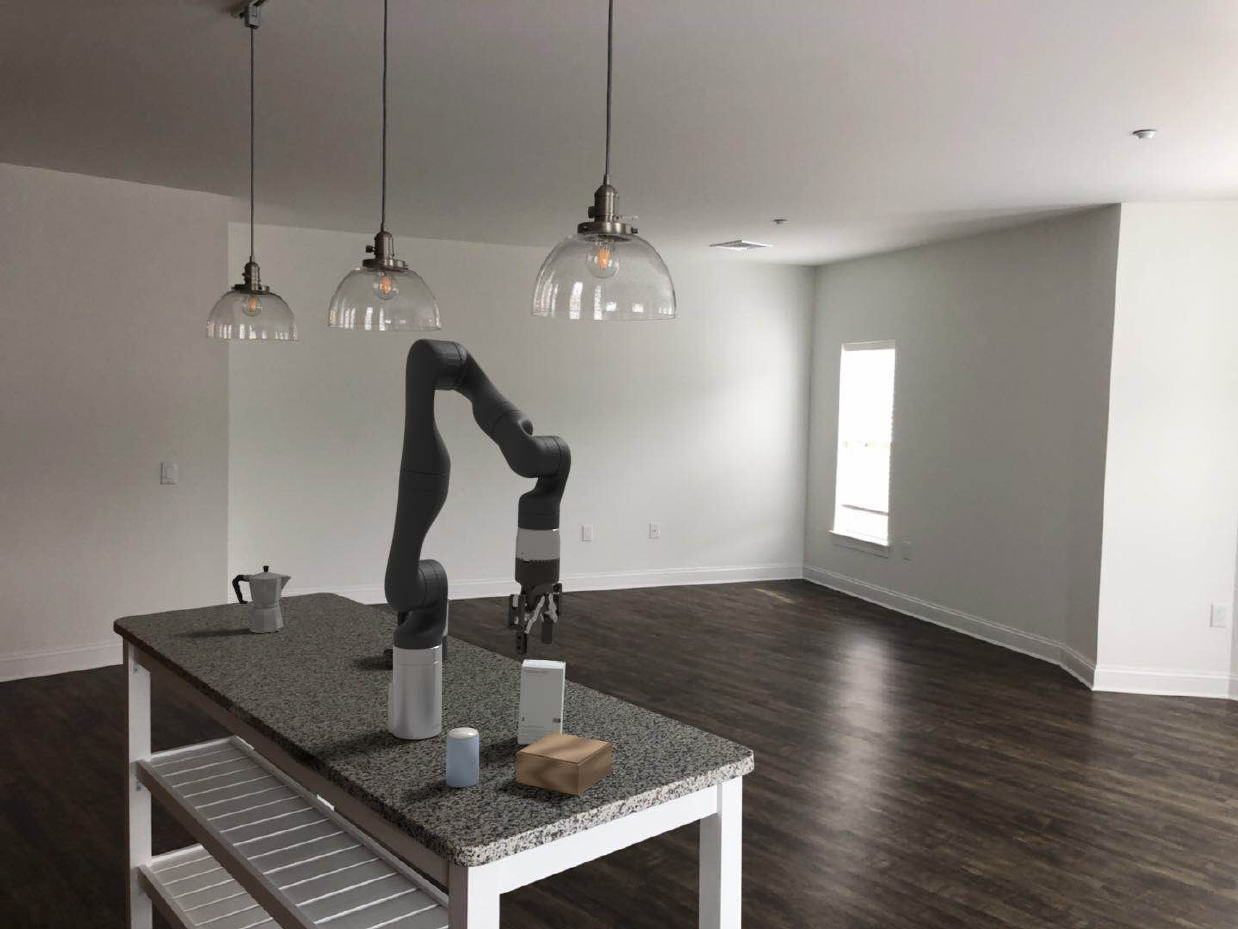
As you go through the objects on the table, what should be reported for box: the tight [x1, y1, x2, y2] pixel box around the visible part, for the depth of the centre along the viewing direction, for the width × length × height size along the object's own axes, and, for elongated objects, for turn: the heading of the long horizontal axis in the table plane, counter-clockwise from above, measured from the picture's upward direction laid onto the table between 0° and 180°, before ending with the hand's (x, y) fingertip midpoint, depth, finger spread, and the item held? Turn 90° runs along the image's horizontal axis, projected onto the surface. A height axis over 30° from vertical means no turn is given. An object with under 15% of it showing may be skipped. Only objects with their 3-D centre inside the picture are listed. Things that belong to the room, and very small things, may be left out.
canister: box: [445, 727, 480, 788], centre depth 165 cm, size 5×5×8 cm
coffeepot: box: [231, 565, 292, 631], centre depth 271 cm, size 15×9×18 cm, turn 103°
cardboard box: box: [515, 732, 613, 796], centre depth 168 cm, size 12×12×5 cm
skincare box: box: [517, 659, 566, 745], centre depth 186 cm, size 8×6×15 cm
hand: (535, 649), depth 166 cm, fingers open, 8 cm apart
